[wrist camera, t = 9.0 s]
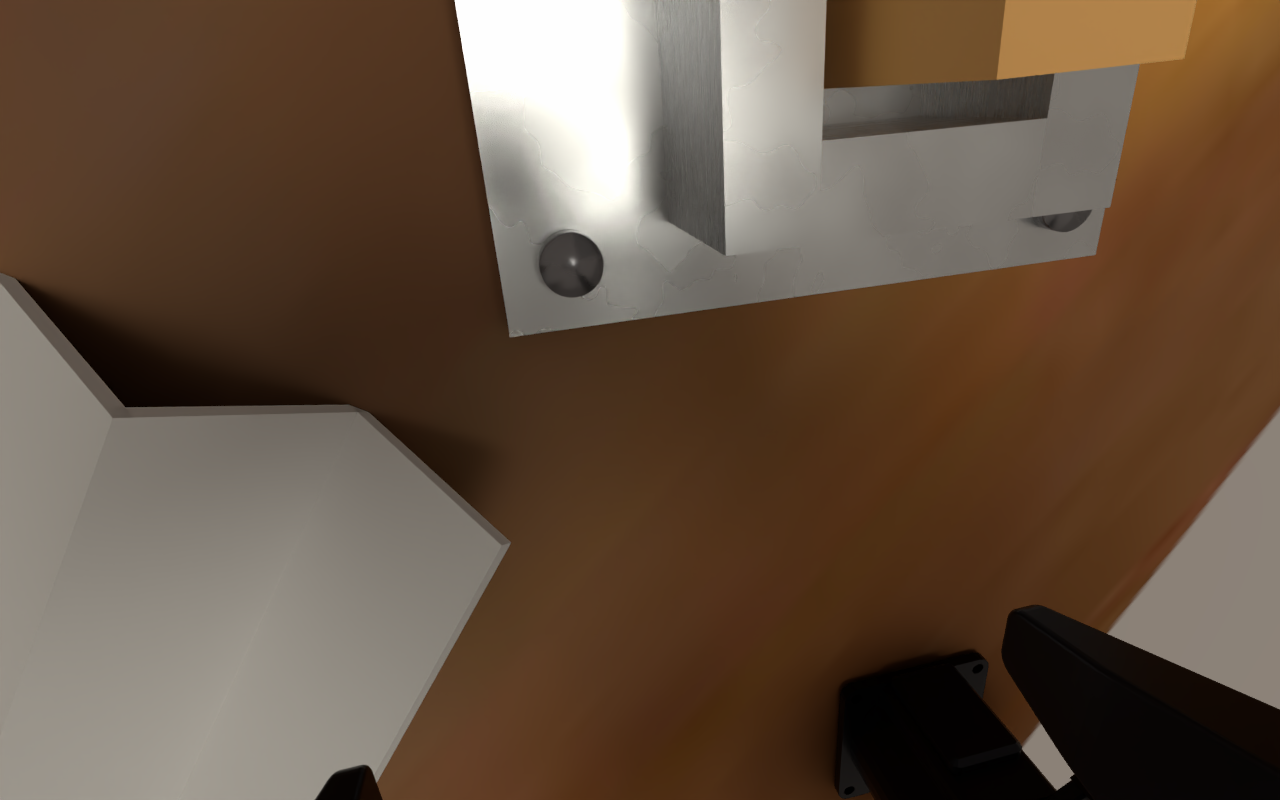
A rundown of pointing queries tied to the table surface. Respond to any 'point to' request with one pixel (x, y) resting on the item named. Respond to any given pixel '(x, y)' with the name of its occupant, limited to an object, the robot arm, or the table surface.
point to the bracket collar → (758, 160)
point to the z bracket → (211, 586)
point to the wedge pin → (995, 38)
